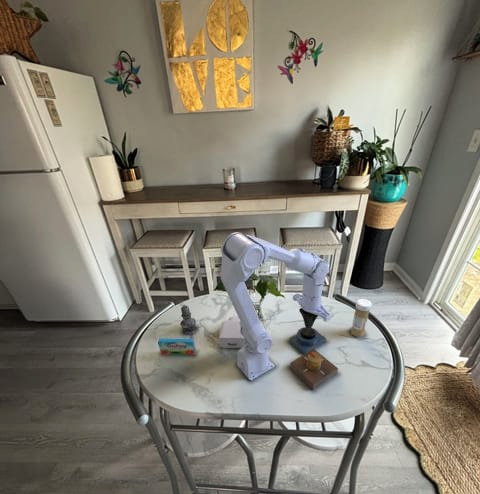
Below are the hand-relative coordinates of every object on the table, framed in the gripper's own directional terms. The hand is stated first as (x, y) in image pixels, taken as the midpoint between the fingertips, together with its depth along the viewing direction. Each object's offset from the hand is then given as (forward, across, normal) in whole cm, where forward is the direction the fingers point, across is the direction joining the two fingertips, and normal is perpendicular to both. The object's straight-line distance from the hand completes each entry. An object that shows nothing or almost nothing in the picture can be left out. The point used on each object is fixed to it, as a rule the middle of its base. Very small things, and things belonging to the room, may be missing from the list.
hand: (308, 326), depth 91 cm
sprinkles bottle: (+7, -7, -17) cm, 20 cm away
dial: (+4, -10, +8) cm, 13 cm away
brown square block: (+7, -10, +8) cm, 14 cm away
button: (+4, 0, 0) cm, 4 cm away
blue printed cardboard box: (+7, +22, +39) cm, 45 cm away
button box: (+7, 0, 0) cm, 7 cm away
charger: (+7, +19, +18) cm, 27 cm away
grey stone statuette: (+7, +31, +31) cm, 44 cm away
